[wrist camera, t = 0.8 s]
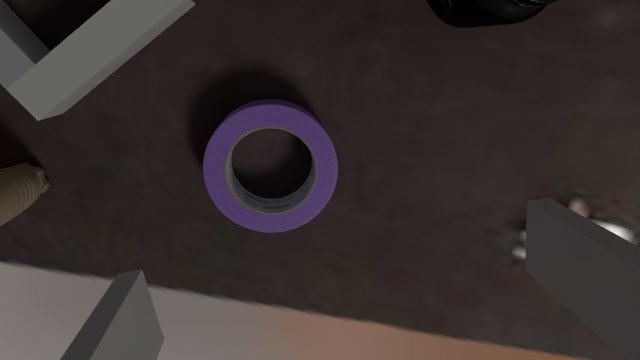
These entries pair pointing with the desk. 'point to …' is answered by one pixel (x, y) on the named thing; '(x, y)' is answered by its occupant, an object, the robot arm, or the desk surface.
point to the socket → (77, 52)
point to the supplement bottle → (486, 11)
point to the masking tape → (263, 210)
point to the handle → (19, 189)
